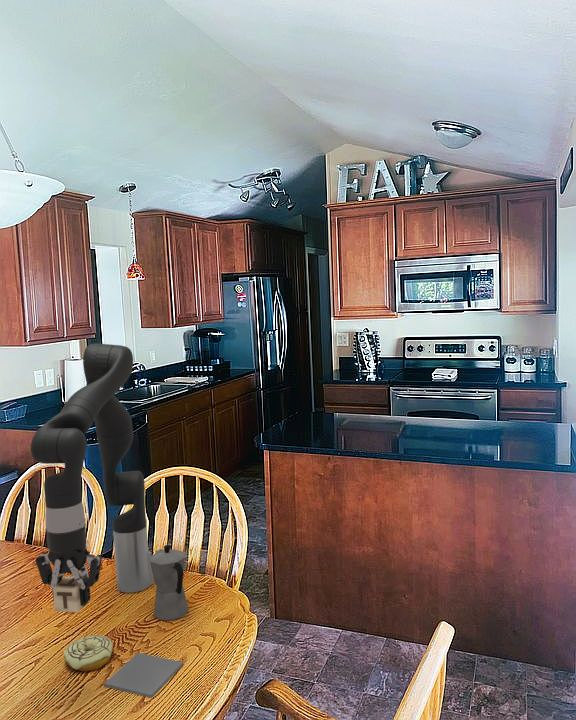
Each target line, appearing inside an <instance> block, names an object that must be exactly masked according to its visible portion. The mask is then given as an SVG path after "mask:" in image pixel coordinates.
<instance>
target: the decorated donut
mask: <svg viewBox="0 0 576 720" xmlns="http://www.w3.org/2000/svg"><path fill="white" fill-rule="evenodd" d="M113 646H114V645H113V642H112V640H111V639H110V638H109V637H107V636H105V635H99V634H97V635H95V634H93V635H87V636H86V635H85V636H84V637H80V638H78V639H76V640H74V641H72V642H71V643H69V644H68V645H67V646H66V648H65V650H64V652H63V658H64V661H65V663H66V664H67V665H68V666H69V667H70V668H71V669H73V670H77V671H81V672H90V671H91V672H92V671H94V670H97V669H98V670H99V669H101V668H102V667H103V666H104V665H106V664H107V663H108V662H110V660H111V658H112V657H111V656H112V654H113V649H114V648H113Z"/></svg>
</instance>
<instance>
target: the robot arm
mask: <svg viewBox="0 0 576 720" xmlns="http://www.w3.org/2000/svg"><path fill="white" fill-rule="evenodd" d="M82 357H83V358H82V359H83V360H82V365H83V371H84V372H83V373H84V376H85V377H84V378H85V382H86V386H83V387H81V388H80V389H78V390H77V391H75V392H74V393H73V394H72V395H71V396H70V397H69V398H68V400H67V401H66V403H65V404H64V405H63V407H62V408H61V410H60V412H58V413H57V414H56V415H54V416H53V417H51V418H50V419H49V420H47V422H45V423H44V424H43V425H41V426H40V428H38V430H37V431H36V432H35V433H34V435H33V437H32V439H31V441H30V442H31V443H30V453H31V456H32V458H33V459H34V460H35V461H36V462H37V463H40V464H46V465H47V464H49V465H50V464H64V469H63V471H62V472H57V473H53V474H50V475H49V476H47V477H46V478H45V480H44V482H43V483H44V484H43V490H44V492H43V493H44V502H45V503H44V504H45V530H46V541H47V550H49V551H48V553H46V552H42V553H40V555H38V556H37V557H36V558H35V562H36V563H35V564H36V566H37V570H38V574H39V577H40V579H41V582H42V584H43V585H45V586H46V585H49V586H50V587H51V589H52V591H53V587H54V586H55V585H57V584H58V583H59V582H60V581H61V580H62V579H63V578H64V575H65V574H69V575H72V577H74V579H75V580H77V582H78V584H79V586H80V588H81V589H79V591H80V603H81V606H83V607H85V606H87V605H88V603H89V602H90V601H91V597H92V596H91V588H92V587H93V586H94V585H95V584H96V583H97V582H99V580H100V572H101V566H102V559H103V557H102V555H101V554H97V555H96V556H95V555H92V554H90V553H89V551H88V549H87V529H86V528H87V527H86V516H85V510H84V505H83V498H82V497H83V495H82V485H81V484H82V483H81V481H82V473H83V466H84V462H85V459H86V453H87V447H88V446H87V445H88V443H87V442H88V441H87V439H86V434H87V433H88V432H89V430H90V429H91V427H92V425H93V424H95V425H94V426H95V432H96V437H97V444H98V449H99V453H100V459H101V465H102V476H103V477H102V479H103V490H104V491H103V492H104V498H105V501H106V502H107V504H108V506H111V507H119V506H120V507H121V506H129V505H132V507H131V508H130V509H128V510H127V511H126V512H123V513H121V514H119V515H117V516H116V517H115V518H114V519H113V520H112V532H113V533H112V534H113V546H114V557H115V559H114V561H115V569H116V571H115V572H116V574H115V575H116V585H117V590H118V591H119V592H121V593H125V594H126V593H127V594H129V593H130V594H131V593H137V592H141V591H144V590H146V589H147V588H149V587H150V586H152V585H154V577H153V573H152V568H151V564H150V556H151V555H152V551H150V550H149V543H148V541H149V540H148V532H147V531H148V529H147V516H146V496H145V495H146V493H145V489H146V487H145V486H146V485H145V477H144V474H143V472H142V471H140V470H132V471H121V472H117V469H118V466H119V464H120V463H121V461H122V460H123V458H124V457H125V455H126V454H127V453H128V451H129V450H130V448H131V446H132V445H133V441H134V429H133V420H132V417H131V415H130V412H129V411H128V409H127V408H126V407H125V406H124V405H123V403H122V402H121V401H120V400H119V399H118V398H117V397H116V396H115V395H116V393H117V392H118V391H119V390H120V389H121V388H122V387H123V386H124V385H125V384H126V382H127V381H128V379H129V378H130V376H131V375H132V371H133V368H134V367H133V366H134V355H133V352H132V350H131V349H130V348H129V347H128V346H125V345H122V344H121V345H120V344H109V343H107V344H106V343H91V344H89V345H87V346H86V347H85V349H84V352H83V356H82ZM86 562H88V563H87V564H88V567H87V565H86ZM52 565H53V569H52ZM88 568H89V570H88ZM52 599H53V601H54V596H53V595H52Z"/></svg>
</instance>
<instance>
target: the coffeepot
mask: <svg viewBox="0 0 576 720" xmlns="http://www.w3.org/2000/svg"><path fill="white" fill-rule="evenodd" d="M170 547H171V546H170V545H169V544H166V545H163V548H160V549H159V550H157V549H156V550H155V553H153V554H151V556H150V564H151V568H152V573H153V583H154V585H155V587H156V588H155V598H154V599H155V601H154V615H153V617H154V618H155V619H157V620H159V621H169V622H170V621H174V620H179V619H181V618H183V617H184V616H186V615H187V614H188V613H189V606H188V601H187V597H186V593H185V588H184V585H183V583H184V574H185V572H184V570H185V559H186V557H185V551H183V550H179V549H175V548H174V549H170Z"/></svg>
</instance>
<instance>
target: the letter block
mask: <svg viewBox="0 0 576 720" xmlns="http://www.w3.org/2000/svg"><path fill="white" fill-rule="evenodd" d="M79 589H81V588H80V586H79V584H78V582H77V580H75V579H74V577H73V576H65V577H63V579H62V580H61V581H60V582H59V583H58V584H57V585H55V586H54V587H53V590H52V597H53V596H54V600H53V606H54V611H55V612H63V613H65V612H66V613H67V612H68V613H69V612H70V613H78V612H79V611H81V609H83V607H84V606H81V603H80V591H79Z"/></svg>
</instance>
